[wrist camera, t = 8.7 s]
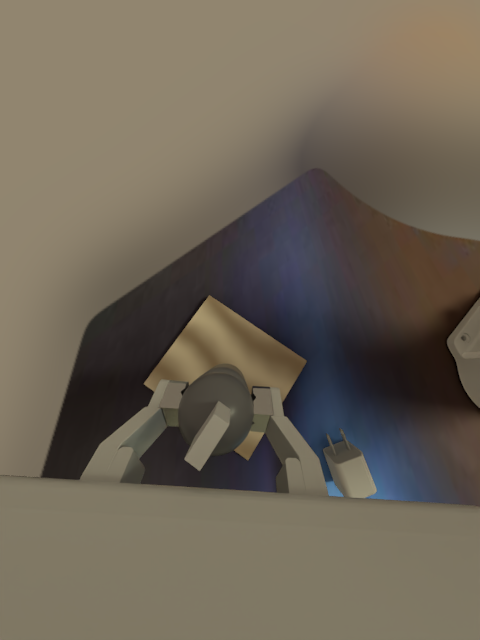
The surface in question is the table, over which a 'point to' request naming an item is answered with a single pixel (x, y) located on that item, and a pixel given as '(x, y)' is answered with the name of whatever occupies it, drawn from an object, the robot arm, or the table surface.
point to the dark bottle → (215, 413)
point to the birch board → (229, 356)
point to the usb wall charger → (349, 469)
